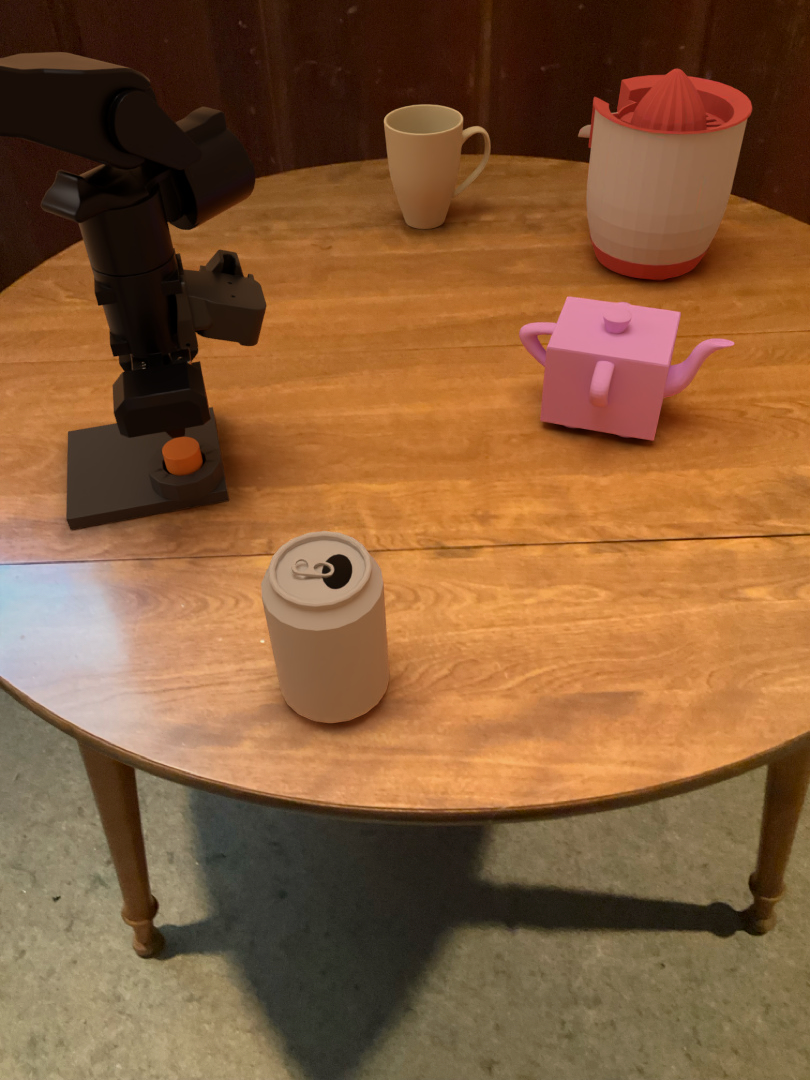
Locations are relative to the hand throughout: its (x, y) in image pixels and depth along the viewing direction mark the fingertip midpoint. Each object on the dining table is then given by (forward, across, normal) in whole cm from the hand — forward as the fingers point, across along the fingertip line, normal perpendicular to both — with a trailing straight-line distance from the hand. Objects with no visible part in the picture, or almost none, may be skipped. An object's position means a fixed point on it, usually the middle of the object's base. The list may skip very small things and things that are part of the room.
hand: (178, 434), depth 75 cm
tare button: (+3, 0, 0) cm, 3 cm away
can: (+6, -24, -8) cm, 26 cm away
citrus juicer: (+6, +26, -53) cm, 59 cm away
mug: (+6, +42, -33) cm, 54 cm away
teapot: (+6, -1, -38) cm, 38 cm away
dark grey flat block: (+6, +4, +4) cm, 8 cm away
